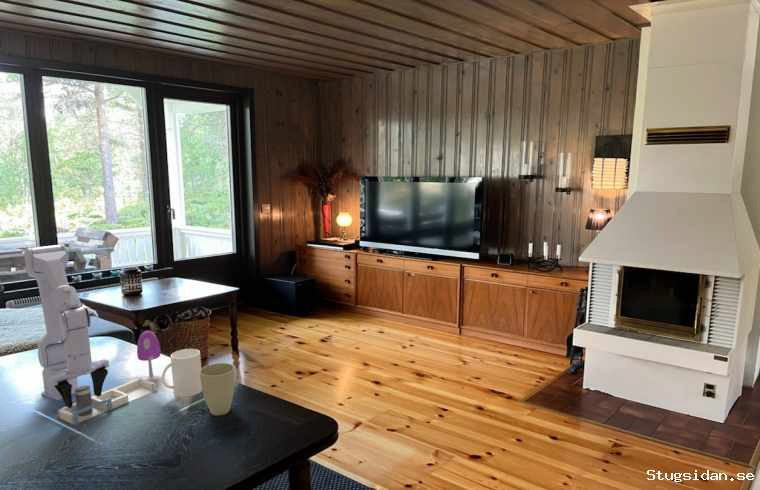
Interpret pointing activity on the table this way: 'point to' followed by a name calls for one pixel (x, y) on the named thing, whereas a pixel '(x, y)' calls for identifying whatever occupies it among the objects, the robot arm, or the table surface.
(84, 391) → the plug
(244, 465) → the table surface
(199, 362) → the mug
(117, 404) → the compartment tray
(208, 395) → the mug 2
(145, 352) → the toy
